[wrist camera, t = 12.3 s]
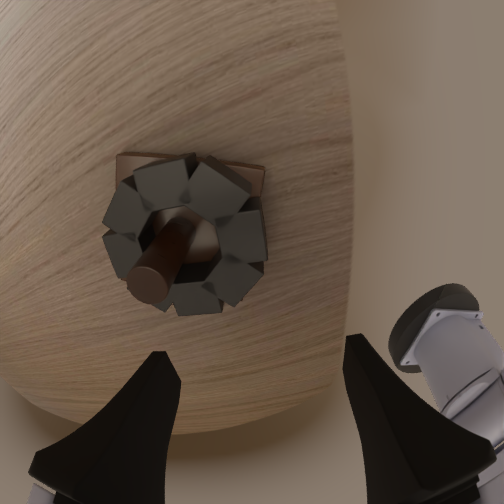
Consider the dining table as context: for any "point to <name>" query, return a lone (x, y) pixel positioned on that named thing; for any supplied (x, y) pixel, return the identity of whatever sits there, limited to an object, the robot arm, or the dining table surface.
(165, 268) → the peg stand
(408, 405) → the robot arm
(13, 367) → the dining table surface
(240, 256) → the ring
